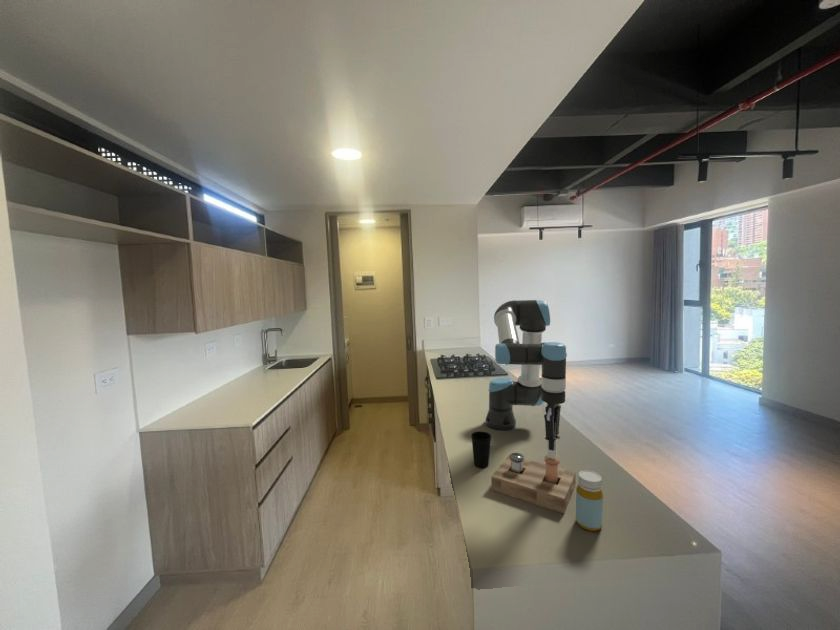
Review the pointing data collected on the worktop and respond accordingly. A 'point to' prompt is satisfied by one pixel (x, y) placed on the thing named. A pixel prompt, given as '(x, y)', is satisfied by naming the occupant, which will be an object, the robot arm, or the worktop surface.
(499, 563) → the worktop surface
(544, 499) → the block
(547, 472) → the terracotta plug
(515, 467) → the grey plug
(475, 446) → the cup
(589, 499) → the bottle
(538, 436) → the worktop surface
